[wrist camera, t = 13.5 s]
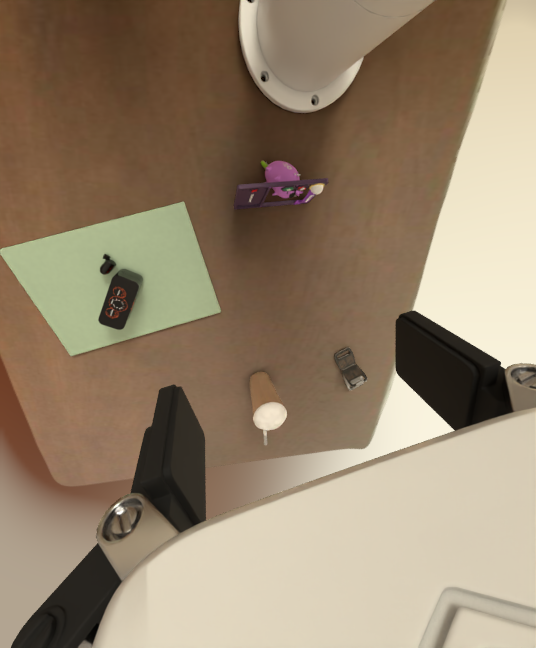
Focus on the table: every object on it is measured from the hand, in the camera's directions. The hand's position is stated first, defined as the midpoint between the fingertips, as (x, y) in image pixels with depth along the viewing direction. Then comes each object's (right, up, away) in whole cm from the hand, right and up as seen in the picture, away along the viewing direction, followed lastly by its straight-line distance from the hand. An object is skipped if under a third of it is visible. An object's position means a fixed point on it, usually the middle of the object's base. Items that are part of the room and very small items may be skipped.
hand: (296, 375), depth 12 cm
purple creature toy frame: (-1, +18, +21) cm, 28 cm away
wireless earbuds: (-19, +7, +22) cm, 30 cm away
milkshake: (-3, -7, +33) cm, 34 cm away
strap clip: (+12, -5, +36) cm, 38 cm away
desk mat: (-19, +7, +22) cm, 30 cm away
